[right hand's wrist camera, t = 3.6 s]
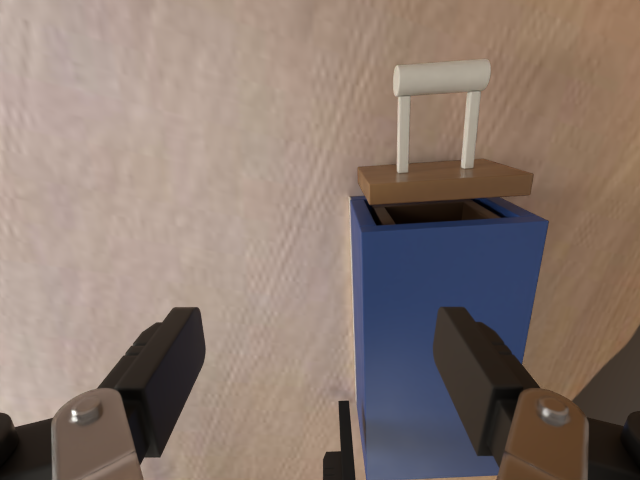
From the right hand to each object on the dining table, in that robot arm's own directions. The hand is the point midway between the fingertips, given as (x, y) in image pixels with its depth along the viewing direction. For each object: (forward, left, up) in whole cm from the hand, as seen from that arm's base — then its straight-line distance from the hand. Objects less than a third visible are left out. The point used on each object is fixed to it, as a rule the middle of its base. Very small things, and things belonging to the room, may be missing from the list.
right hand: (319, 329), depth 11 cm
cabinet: (+10, +6, -16) cm, 20 cm away
